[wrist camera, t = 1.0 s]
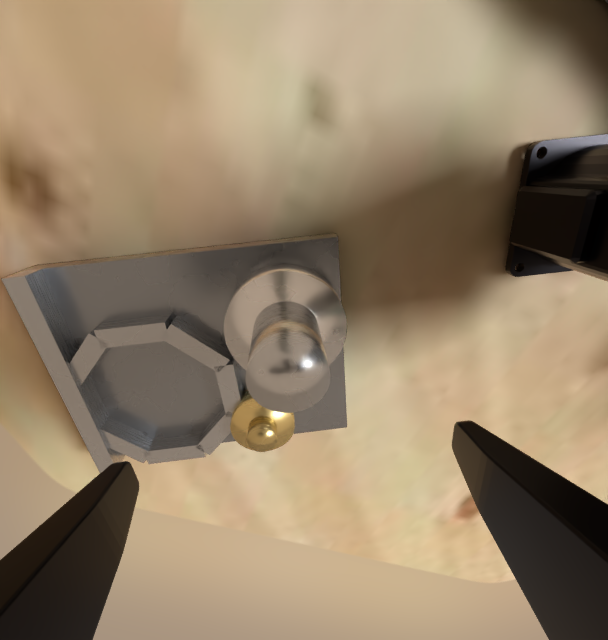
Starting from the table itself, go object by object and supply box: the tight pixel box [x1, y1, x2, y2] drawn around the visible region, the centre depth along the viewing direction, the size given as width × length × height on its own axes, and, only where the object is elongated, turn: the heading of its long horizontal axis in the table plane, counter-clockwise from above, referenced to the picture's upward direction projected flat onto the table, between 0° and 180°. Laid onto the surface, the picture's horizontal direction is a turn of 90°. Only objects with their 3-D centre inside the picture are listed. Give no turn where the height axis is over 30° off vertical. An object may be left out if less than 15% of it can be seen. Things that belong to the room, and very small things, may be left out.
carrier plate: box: [1, 233, 347, 473], centre depth 17 cm, size 15×12×4 cm
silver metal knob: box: [224, 263, 347, 413], centre depth 15 cm, size 6×6×6 cm
